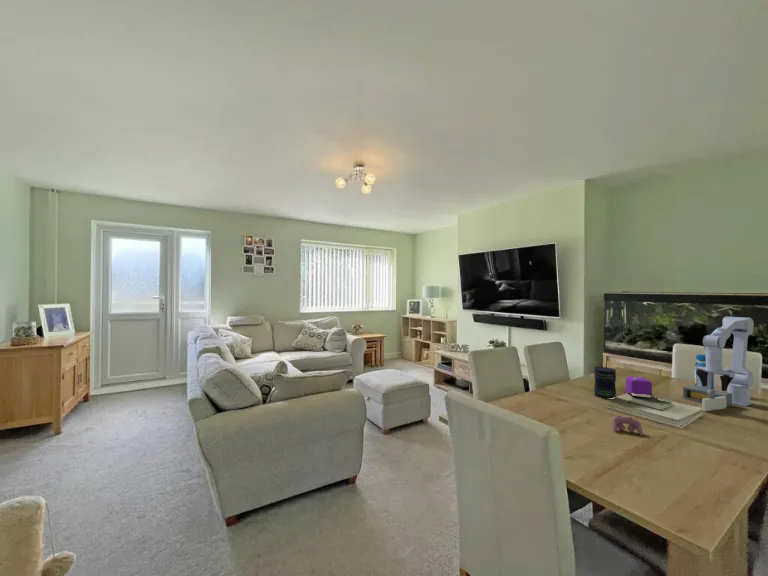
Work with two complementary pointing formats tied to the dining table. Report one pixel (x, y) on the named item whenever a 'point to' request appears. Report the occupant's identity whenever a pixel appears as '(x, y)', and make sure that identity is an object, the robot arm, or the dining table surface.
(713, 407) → the door
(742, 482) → the dining table surface
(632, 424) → the video game controller
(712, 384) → the beverage bottle
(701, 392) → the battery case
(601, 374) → the storage jar
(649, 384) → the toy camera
